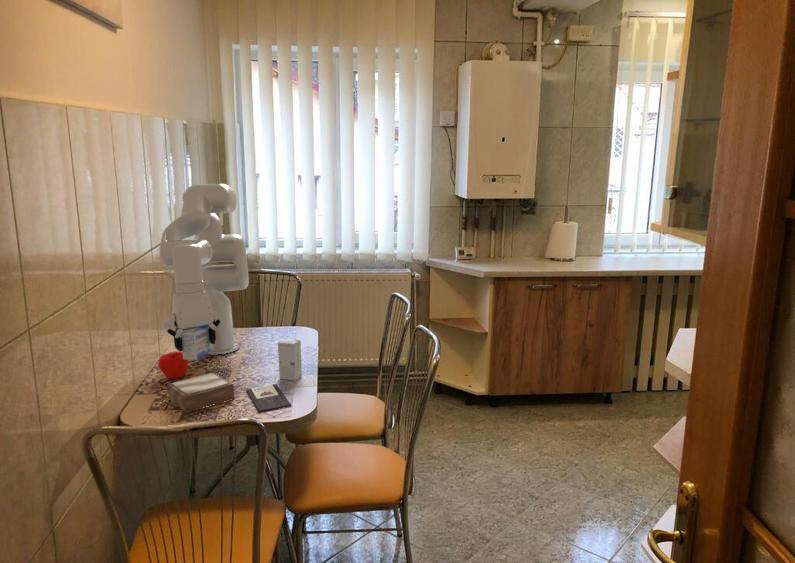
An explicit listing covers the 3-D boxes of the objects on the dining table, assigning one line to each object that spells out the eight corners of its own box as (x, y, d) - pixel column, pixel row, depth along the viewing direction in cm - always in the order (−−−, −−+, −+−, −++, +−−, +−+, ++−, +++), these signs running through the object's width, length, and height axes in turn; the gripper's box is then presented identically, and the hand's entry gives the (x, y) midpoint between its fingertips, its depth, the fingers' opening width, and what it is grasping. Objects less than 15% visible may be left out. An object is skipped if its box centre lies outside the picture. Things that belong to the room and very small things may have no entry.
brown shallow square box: (169, 399, 175) (167, 383, 174) (215, 386, 183) (213, 371, 182) (186, 413, 164) (185, 396, 163) (234, 399, 173) (233, 383, 172)
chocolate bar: (258, 411, 163) (246, 389, 179) (259, 414, 163) (246, 392, 179) (291, 404, 166) (276, 383, 182) (291, 407, 166) (276, 386, 183)
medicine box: (197, 360, 167) (194, 330, 165) (182, 360, 167) (179, 330, 166) (211, 351, 174) (208, 323, 172) (197, 351, 175) (194, 322, 173)
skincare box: (279, 379, 188) (276, 342, 185) (286, 374, 192) (283, 338, 189) (296, 381, 186) (293, 343, 183) (303, 376, 190) (300, 339, 187)
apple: (158, 383, 187) (155, 360, 186) (164, 374, 196) (161, 351, 194) (187, 381, 189) (185, 357, 187) (192, 371, 197) (190, 349, 196)
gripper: (214, 281, 175) (219, 337, 179) (153, 290, 164) (160, 350, 168) (224, 284, 170) (230, 342, 173) (163, 294, 159) (170, 356, 162)
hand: (196, 346), depth 170 cm, fingers closed on medicine box, 9 cm apart
